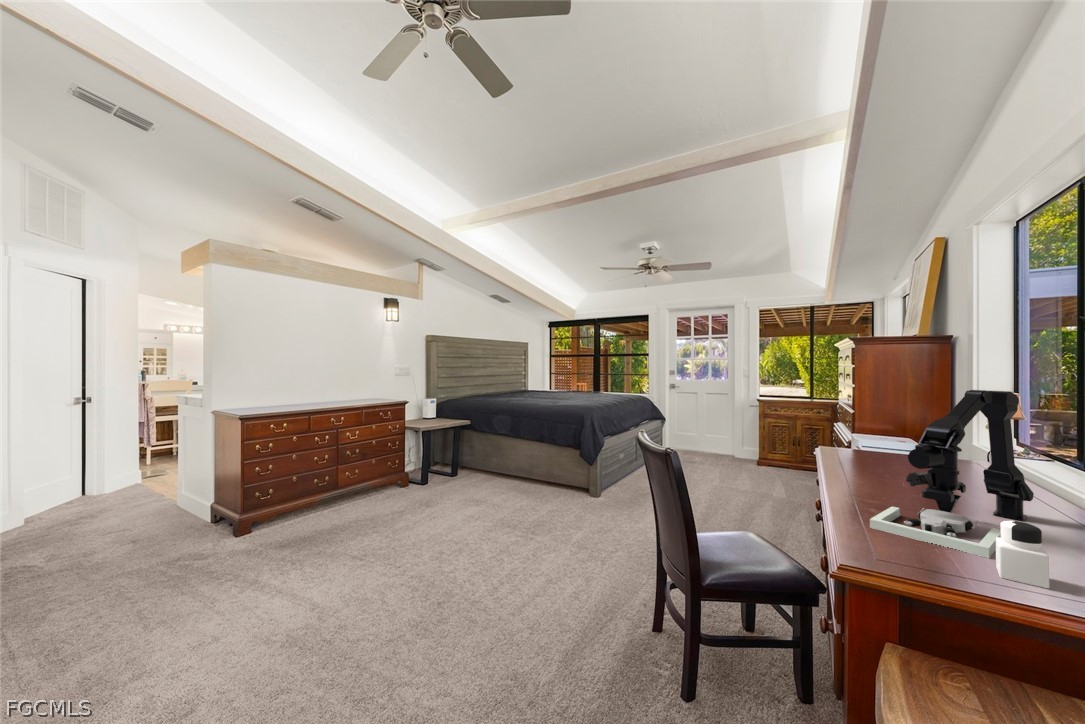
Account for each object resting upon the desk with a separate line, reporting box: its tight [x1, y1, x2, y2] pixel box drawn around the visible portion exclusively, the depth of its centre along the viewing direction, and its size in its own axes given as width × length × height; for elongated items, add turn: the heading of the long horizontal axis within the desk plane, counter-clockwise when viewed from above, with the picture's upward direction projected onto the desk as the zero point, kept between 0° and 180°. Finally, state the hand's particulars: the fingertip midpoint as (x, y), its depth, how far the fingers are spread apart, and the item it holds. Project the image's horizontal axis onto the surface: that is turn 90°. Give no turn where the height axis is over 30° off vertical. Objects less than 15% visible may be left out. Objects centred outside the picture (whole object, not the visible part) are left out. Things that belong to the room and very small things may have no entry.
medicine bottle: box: [995, 520, 1050, 590], centre depth 93 cm, size 7×7×12 cm
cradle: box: [869, 506, 1001, 559], centre depth 117 cm, size 20×24×2 cm
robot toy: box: [903, 507, 980, 538], centre depth 118 cm, size 12×4×15 cm
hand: (944, 518), depth 124 cm, fingers closed
